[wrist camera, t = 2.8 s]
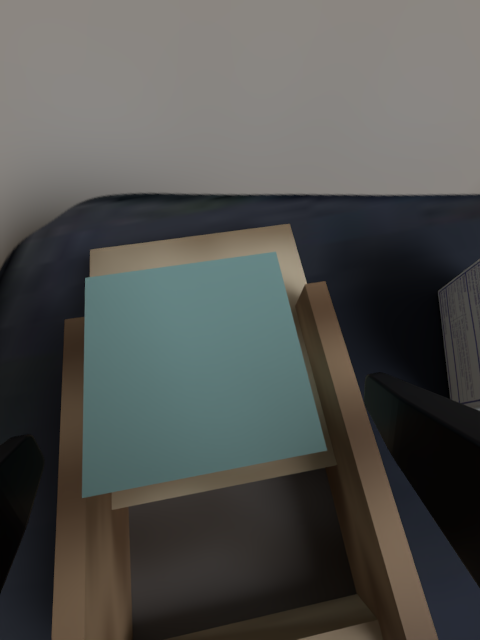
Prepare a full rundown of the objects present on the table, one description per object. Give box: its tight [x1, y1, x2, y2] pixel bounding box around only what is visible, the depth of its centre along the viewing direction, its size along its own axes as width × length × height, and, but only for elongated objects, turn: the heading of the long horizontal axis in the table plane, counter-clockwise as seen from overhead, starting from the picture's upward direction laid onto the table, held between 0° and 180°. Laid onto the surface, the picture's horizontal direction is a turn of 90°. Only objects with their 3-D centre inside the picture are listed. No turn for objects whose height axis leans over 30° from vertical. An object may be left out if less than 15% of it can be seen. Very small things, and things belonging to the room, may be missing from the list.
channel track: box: [52, 224, 438, 640], centre depth 15 cm, size 20×12×5 cm, turn 10°
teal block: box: [82, 252, 327, 498], centre depth 11 cm, size 4×4×9 cm
